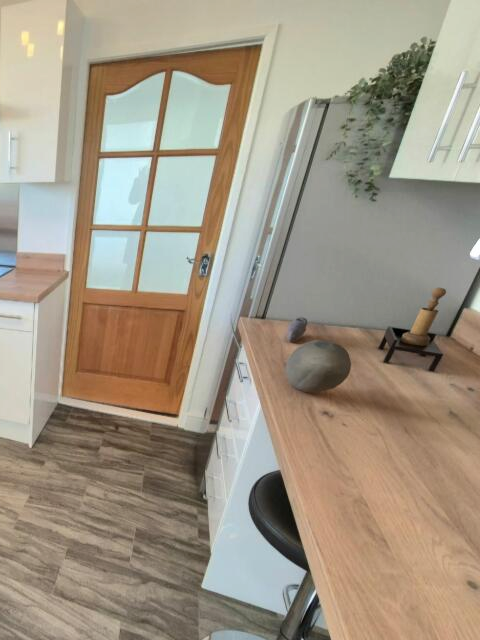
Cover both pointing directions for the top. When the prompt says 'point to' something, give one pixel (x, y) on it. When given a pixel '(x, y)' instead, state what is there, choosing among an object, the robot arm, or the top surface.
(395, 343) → the tray
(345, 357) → the cantaloupe
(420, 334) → the mortar and pestle
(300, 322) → the perforated stone tool
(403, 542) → the top surface
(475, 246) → the robot arm
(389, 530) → the top surface
